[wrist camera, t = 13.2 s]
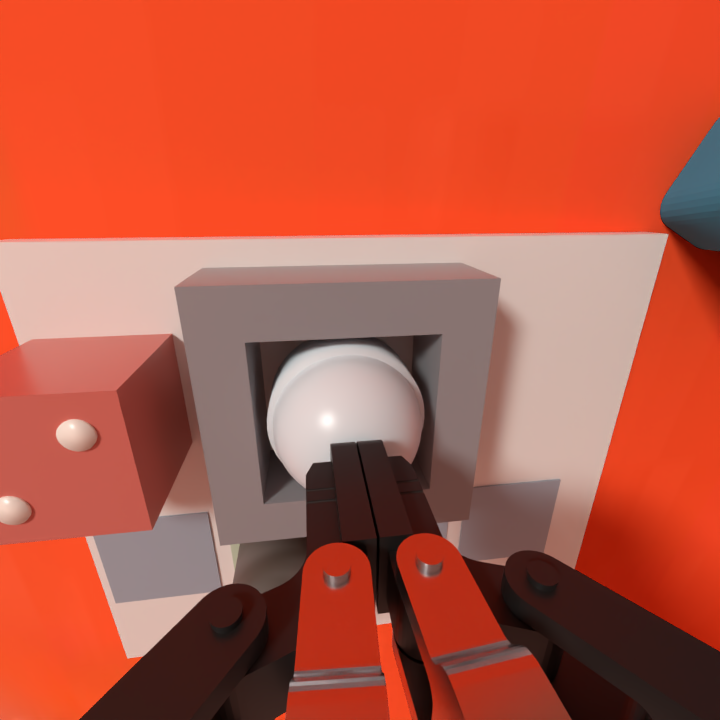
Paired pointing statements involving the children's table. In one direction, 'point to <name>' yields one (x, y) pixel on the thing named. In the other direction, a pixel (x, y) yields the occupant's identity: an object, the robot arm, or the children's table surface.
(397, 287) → the dome housing
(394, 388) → the dome
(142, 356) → the die
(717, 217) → the block
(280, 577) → the pawn
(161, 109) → the children's table surface
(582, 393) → the game board
